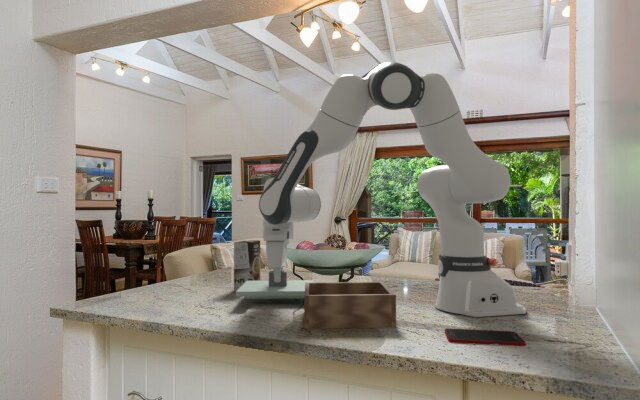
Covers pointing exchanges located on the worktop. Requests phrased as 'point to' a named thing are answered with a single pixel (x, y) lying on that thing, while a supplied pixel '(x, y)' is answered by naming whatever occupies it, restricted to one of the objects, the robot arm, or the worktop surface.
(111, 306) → the worktop surface
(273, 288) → the lid
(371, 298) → the box
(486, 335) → the cell phone
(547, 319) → the worktop surface
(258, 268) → the coffee box
